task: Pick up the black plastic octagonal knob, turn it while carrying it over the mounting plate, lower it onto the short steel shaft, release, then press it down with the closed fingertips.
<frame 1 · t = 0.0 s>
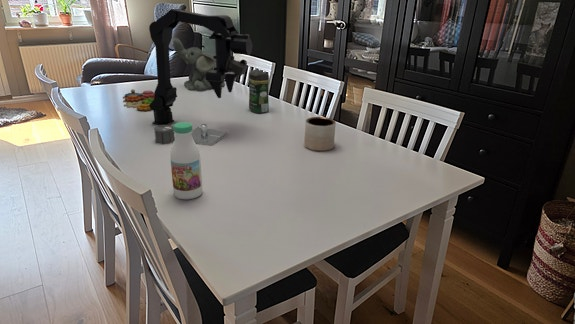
hand: (224, 95, 145), 15 cm above the table, fingers open, 9 cm apart
stuffed elephant: (201, 88, 214), on the table
milk bottle: (188, 194, 106), on the table
gear puzzle: (141, 104, 184), on the table
planter: (318, 146, 141), on the table
coffee jar: (258, 111, 178), on the table
knob: (165, 140, 141), on the table
mounting plate: (204, 137, 145), on the table
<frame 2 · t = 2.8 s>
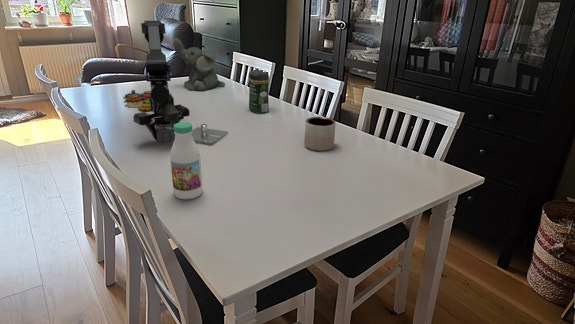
hand: (164, 137, 140), 1 cm above the table, fingers closed on knob, 7 cm apart
knob: (165, 140, 141), on the table, touching gripper
when the fingers open (4 cm above the table, at t = 6.8 s): knob drops 1 cm, resting on mounting plate.
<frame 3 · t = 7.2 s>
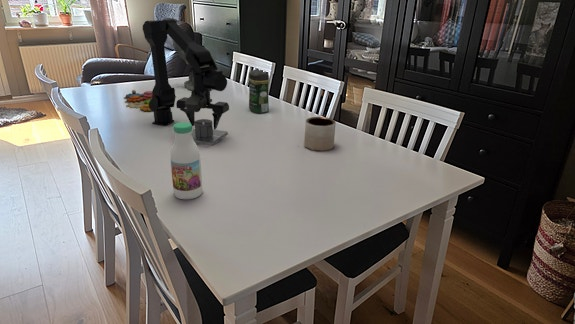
hand: (204, 127, 144), 4 cm above the table, fingers open, 9 cm apart
knob: (204, 134, 145), point 1 cm above the table, touching mounting plate
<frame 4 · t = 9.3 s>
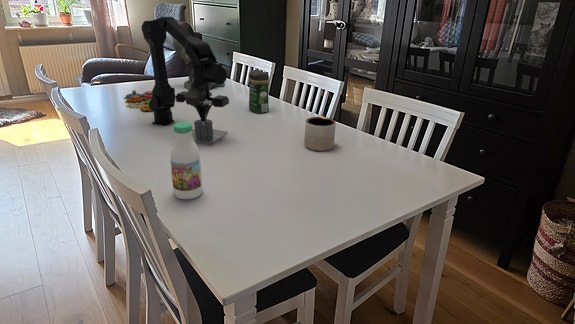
hand: (203, 121, 143), 6 cm above the table, fingers closed
knob: (204, 134, 145), point 1 cm above the table, touching gripper, mounting plate
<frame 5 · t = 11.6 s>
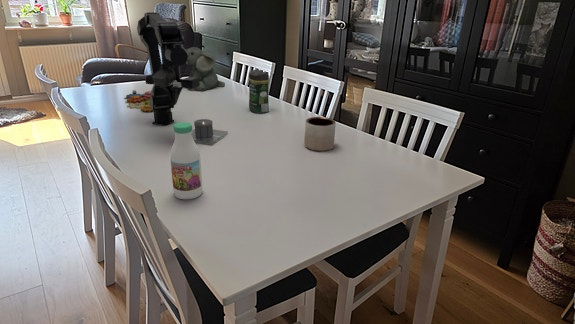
hand: (174, 104, 139), 13 cm above the table, fingers closed
knob: (204, 134, 145), point 1 cm above the table, touching mounting plate
at the end: knob 0.1 cm off-centre on the mounting plate, point 1.1 cm above the mounting plate's base; the gripper is holding nothing; knob tilted 1° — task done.
